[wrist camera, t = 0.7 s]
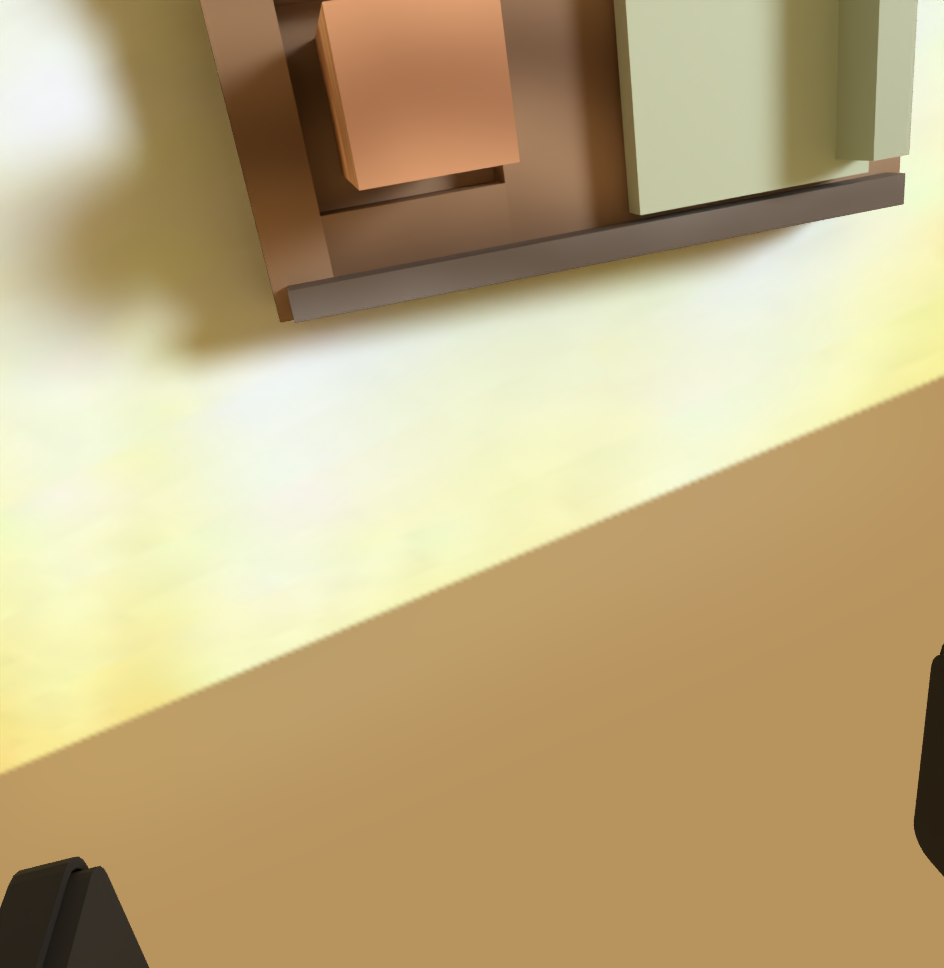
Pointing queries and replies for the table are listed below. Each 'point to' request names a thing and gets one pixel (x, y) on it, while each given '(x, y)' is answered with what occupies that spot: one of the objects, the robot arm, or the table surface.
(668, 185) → the lid
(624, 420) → the table surface
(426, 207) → the puzzle board
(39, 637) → the table surface
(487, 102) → the block
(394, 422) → the table surface
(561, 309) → the table surface
